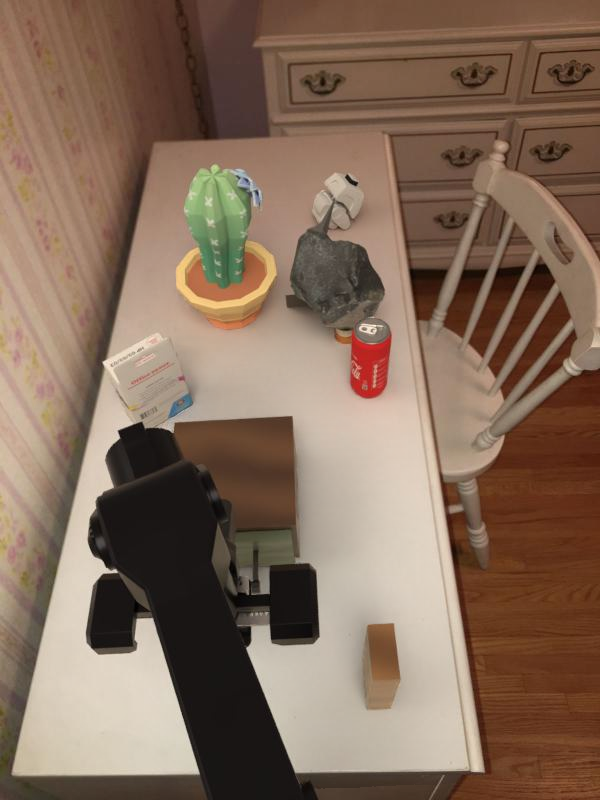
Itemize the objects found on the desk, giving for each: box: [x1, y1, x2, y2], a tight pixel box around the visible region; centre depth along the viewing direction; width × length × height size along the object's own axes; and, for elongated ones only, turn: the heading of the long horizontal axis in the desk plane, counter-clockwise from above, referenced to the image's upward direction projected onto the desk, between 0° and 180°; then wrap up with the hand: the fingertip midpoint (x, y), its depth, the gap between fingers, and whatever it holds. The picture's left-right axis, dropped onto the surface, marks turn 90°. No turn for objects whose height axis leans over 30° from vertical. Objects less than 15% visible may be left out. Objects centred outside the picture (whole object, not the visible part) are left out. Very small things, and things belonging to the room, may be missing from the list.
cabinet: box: [173, 415, 301, 559], centre depth 79 cm, size 15×15×9 cm
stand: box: [362, 622, 402, 711], centre depth 64 cm, size 5×2×13 cm, turn 2°
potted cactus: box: [175, 164, 278, 331], centre depth 93 cm, size 15×15×25 cm
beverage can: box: [349, 316, 393, 400], centre depth 88 cm, size 5×5×12 cm
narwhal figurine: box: [285, 197, 386, 345], centre depth 92 cm, size 14×15×18 cm
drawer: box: [234, 529, 296, 595], centre depth 76 cm, size 18×13×7 cm
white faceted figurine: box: [311, 172, 365, 230], centre depth 111 cm, size 6×7×10 cm
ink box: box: [101, 331, 193, 428], centre depth 86 cm, size 8×5×15 cm, turn 127°
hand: (220, 636), depth 60 cm, fingers closed
